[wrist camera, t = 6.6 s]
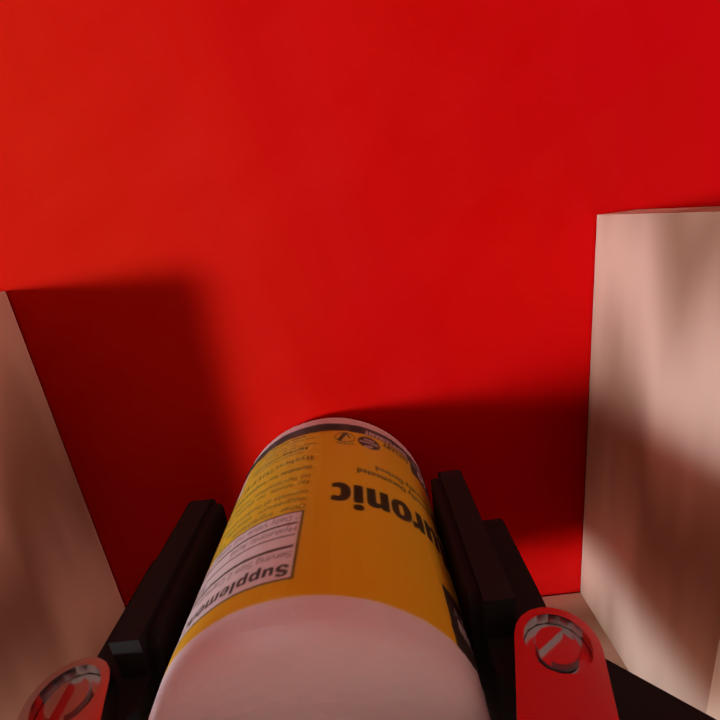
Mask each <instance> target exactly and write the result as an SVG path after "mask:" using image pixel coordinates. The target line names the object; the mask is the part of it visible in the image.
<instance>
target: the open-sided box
mask: <svg viewBox="0 0 720 720" xmlns="http://www.w3.org/2000/svg"><path fill="white" fill-rule="evenodd" d="M542 599H543V601H544V603H545V605H546V607H552V608H557V609H560V610H564V611H567V612H569V613H571V614H573V615H575V616H577V617H578V618H580V619H581V620H582V621H583V622H585V623H586V624H587V625H588V626H590V628H591V629H592V630H593V632H594V633H595V634H596V635H597V637H598V639H599V641H600V643H601V646H602V648H603V652H604V656H605V659H607V660H609V661H611V662H613V663H615V664H616V665H618V666H620V667H622V668H624V669H625V670H627V671H629V672H631V673H633V674H635V675H636V676H638V677H640V678H642V679H644V680H645V681H647V682H649V683H651V684H653V685H655V686H656V687H658V688H660V689H662V690H664V691H665V692H667V693H669V694H671V695H673V696H675V697H676V698H678V699H680V700H682V701H684V702H685V703H687V704H689V705H691V706H693V707H695V708H696V709H698V710H700V711H702V712H704V713H705V714H707V715H709V716H711V717H713V718H715V719H716V720H720V206H712V207H689V208H665V209H641V210H631V211H623V212H615V213H608V214H600V215H597V231H596V253H595V276H594V298H593V321H592V343H591V366H590V389H589V411H588V434H587V456H586V479H585V501H584V524H583V546H582V569H581V592H580V593H572V594H563V595H554V596H545V597H542ZM124 610H125V606H124V603H123V601H122V598H121V596H120V593H119V590H118V588H117V585H116V582H115V580H114V577H113V574H112V572H111V569H110V566H109V564H108V561H107V559H106V556H105V553H104V551H103V548H102V545H101V543H100V540H99V537H98V535H97V532H96V529H95V527H94V524H93V522H92V519H91V516H90V514H89V511H88V508H87V506H86V503H85V500H84V498H83V495H82V492H81V490H80V487H79V485H78V482H77V479H76V477H75V474H74V471H73V469H72V466H71V463H70V461H69V458H68V456H67V453H66V450H65V448H64V445H63V442H62V440H61V437H60V434H59V432H58V429H57V426H56V424H55V421H54V419H53V416H52V413H51V411H50V408H49V405H48V403H47V400H46V397H45V395H44V392H43V389H42V387H41V384H40V382H39V379H38V376H37V374H36V371H35V368H34V366H33V363H32V360H31V358H30V355H29V352H28V350H27V347H26V345H25V342H24V339H23V337H22V334H21V331H20V329H19V326H18V323H17V321H16V318H15V315H14V313H13V310H12V308H11V305H10V302H9V300H8V297H7V294H6V292H5V291H2V292H0V720H17V719H18V717H19V714H20V712H21V710H22V708H23V706H24V705H25V703H26V701H27V699H28V698H29V697H30V695H31V694H32V693H33V692H34V691H35V689H36V688H37V687H38V686H39V685H40V684H41V683H42V682H43V681H44V680H46V679H47V678H48V677H49V676H50V675H51V674H53V673H54V672H56V671H57V670H59V669H60V668H62V667H63V666H65V665H67V664H69V663H72V662H74V661H76V660H79V659H83V658H87V657H97V656H98V654H99V653H100V651H101V649H102V648H103V646H104V644H105V642H106V641H107V639H108V637H109V636H110V634H111V632H112V630H113V629H114V627H115V625H116V624H117V622H118V620H119V618H120V617H121V615H122V613H123V612H124Z"/></svg>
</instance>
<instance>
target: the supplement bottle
mask: <svg viewBox="0 0 720 720" xmlns="http://www.w3.org/2000/svg"><path fill="white" fill-rule="evenodd" d="M148 720H491V719H490V715H489V711H488V707H487V704H486V699H485V694H484V691H483V688H482V683H481V678H480V674H479V671H478V667H477V663H476V660H475V657H474V655H473V651H472V648H471V644H470V640H469V638H468V635H467V631H466V628H465V623H464V620H463V616H462V613H461V610H460V606H459V602H458V598H457V595H456V592H455V589H454V585H453V582H452V578H451V574H450V571H449V568H448V564H447V560H446V556H445V553H444V549H443V546H442V543H441V539H440V536H439V532H438V528H437V524H436V521H435V518H434V515H433V510H432V507H431V503H430V499H429V494H428V491H427V488H426V486H425V483H424V480H423V477H422V475H421V472H420V470H419V467H418V466H417V464H416V462H415V460H414V459H413V457H412V455H411V454H410V453H409V452H408V450H407V449H406V448H405V447H404V446H403V445H402V444H401V443H400V442H399V441H398V440H397V439H396V438H394V437H393V436H392V435H390V434H389V433H387V432H386V431H384V430H382V429H380V428H378V427H376V426H374V425H371V424H369V423H366V422H362V421H358V420H354V419H349V418H323V419H317V420H312V421H309V422H305V423H302V424H300V425H297V426H295V427H293V428H291V429H289V430H287V431H285V432H284V433H282V434H281V435H279V436H278V437H277V438H275V439H274V440H273V441H272V442H271V443H269V444H268V445H267V446H266V448H265V449H264V450H263V451H262V452H261V453H260V455H259V456H258V458H257V459H256V461H255V462H254V464H253V466H252V467H251V469H250V471H249V473H248V475H247V478H246V481H245V483H244V485H243V487H242V490H241V492H240V494H239V497H238V499H237V502H236V504H235V506H234V509H233V511H232V514H231V516H230V519H229V521H228V523H227V526H226V528H225V530H224V533H223V535H222V538H221V540H220V542H219V545H218V547H217V550H216V552H215V555H214V557H213V559H212V562H211V564H210V567H209V569H208V571H207V574H206V576H205V578H204V581H203V583H202V586H201V588H200V591H199V593H198V595H197V598H196V600H195V603H194V605H193V608H192V610H191V613H190V615H189V617H188V619H187V622H186V624H185V627H184V629H183V632H182V634H181V636H180V639H179V641H178V643H177V646H176V648H175V650H174V653H173V655H172V657H171V660H170V662H169V664H168V667H167V669H166V672H165V674H164V677H163V679H162V681H161V684H160V687H159V690H158V693H157V695H156V698H155V701H154V704H153V707H152V710H151V712H150V715H149V718H148Z"/></svg>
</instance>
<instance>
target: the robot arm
mask: <svg viewBox="0 0 720 720" xmlns="http://www.w3.org/2000/svg"><path fill="white" fill-rule="evenodd" d="M431 486H432V498H433V509H434V518H435V521H436V524H437V528H438V532H439V536H440V539H441V543H442V546H443V549H444V553H445V556H446V560H447V564H448V568H449V571H450V574H451V578H452V582H453V585H454V589H455V592H456V595H457V598H458V602H459V606H460V610H461V613H462V616H463V620H464V623H465V628H466V631H467V635H468V638H469V640H470V644H471V648H472V651H473V655H474V657H475V660H476V663H477V667H478V671H479V674H480V678H481V683H482V688H483V691H484V694H485V699H486V704H487V707H488V711H489V715H490V719H491V720H716V719H715V718H713V717H711V716H709V715H707V714H705V713H704V712H702V711H700V710H698V709H696V708H695V707H693V706H691V705H689V704H687V703H685V702H684V701H682V700H680V699H678V698H676V697H675V696H673V695H671V694H669V693H667V692H665V691H664V690H662V689H660V688H658V687H656V686H655V685H653V684H651V683H649V682H647V681H645V680H644V679H642V678H640V677H638V676H636V675H635V674H633V673H631V672H629V671H627V670H625V669H624V668H622V667H620V666H618V665H616V664H615V663H613V662H611V661H609V660H607V659H605V656H604V652H603V648H602V646H601V643H600V641H599V639H598V637H597V635H596V634H595V633H594V632H593V630H592V629H591V628H590V626H588V625H587V624H586V623H585V622H583V621H582V620H581V619H580V618H578V617H577V616H575V615H573V614H571V613H569V612H567V611H564V610H560V609H557V608H552V607H546V605H545V603H544V601H543V599H542V597H541V595H540V593H539V591H538V589H537V587H536V585H535V583H534V581H533V579H532V577H531V575H530V573H529V571H528V569H527V567H526V565H525V563H524V561H523V559H522V557H521V555H520V553H519V551H518V549H517V547H516V545H515V543H514V541H513V539H512V537H511V535H510V533H509V531H508V529H507V527H506V525H505V524H504V522H503V520H501V519H493V520H484V521H482V519H481V517H480V514H479V512H478V510H477V508H476V505H475V503H474V501H473V498H472V496H471V494H470V491H469V489H468V487H467V485H466V482H465V480H464V478H463V475H462V473H461V471H460V470H453V471H445V472H439V473H438V478H434V479H431ZM226 526H227V519H226V515H225V511H224V508H223V506H222V504H216V501H215V500H214V499H207V500H198V501H192V502H190V503H189V504H188V506H187V508H186V509H185V511H184V513H183V514H182V516H181V518H180V520H179V521H178V523H177V525H176V527H175V528H174V530H173V532H172V533H171V535H170V537H169V539H168V540H167V542H166V544H165V546H164V547H163V549H162V551H161V553H160V554H159V556H158V558H157V559H156V560H154V562H153V563H152V564H151V565H150V567H149V569H148V571H147V572H146V574H145V576H144V577H143V579H142V581H141V583H140V584H139V586H138V588H137V589H136V591H135V593H134V595H133V596H132V598H131V600H130V601H129V603H128V605H127V606H126V608H125V610H124V612H123V613H122V615H121V617H120V618H119V620H118V622H117V624H116V625H115V627H114V629H113V630H112V632H111V634H110V636H109V637H108V639H107V641H106V642H105V644H104V646H103V648H102V649H101V651H100V653H99V654H98V656H97V657H87V658H83V659H79V660H76V661H74V662H72V663H69V664H67V665H65V666H63V667H62V668H60V669H59V670H57V671H56V672H54V673H53V674H51V675H50V676H49V677H48V678H47V679H46V680H44V681H43V682H42V683H41V684H40V685H39V686H38V687H37V688H36V689H35V691H34V692H33V693H32V694H31V695H30V697H29V698H28V699H27V701H26V703H25V705H24V706H23V708H22V710H21V712H20V714H19V717H18V719H17V720H148V718H149V715H150V712H151V710H152V707H153V704H154V701H155V698H156V695H157V693H158V690H159V687H160V684H161V681H162V679H163V677H164V674H165V672H166V669H167V667H168V664H169V662H170V660H171V657H172V655H173V653H174V650H175V648H176V646H177V643H178V641H179V639H180V636H181V634H182V632H183V629H184V627H185V624H186V622H187V619H188V617H189V615H190V613H191V610H192V608H193V605H194V603H195V600H196V598H197V595H198V593H199V591H200V588H201V586H202V583H203V581H204V578H205V576H206V574H207V571H208V569H209V567H210V564H211V562H212V559H213V557H214V555H215V552H216V550H217V547H218V545H219V542H220V540H221V538H222V535H223V533H224V530H225V528H226Z"/></svg>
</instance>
